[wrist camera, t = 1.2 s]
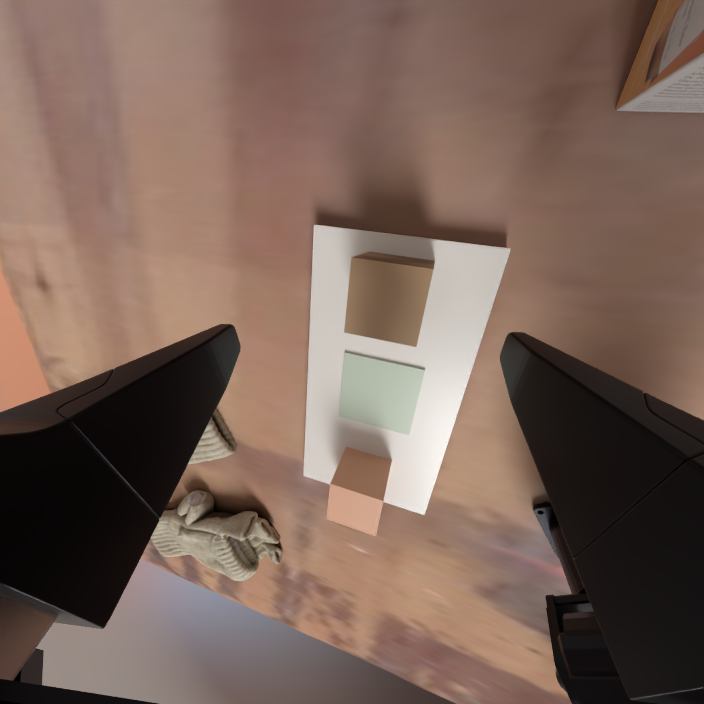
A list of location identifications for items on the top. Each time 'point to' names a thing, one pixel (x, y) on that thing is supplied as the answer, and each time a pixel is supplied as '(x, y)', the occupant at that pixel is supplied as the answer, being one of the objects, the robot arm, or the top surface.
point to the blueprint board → (394, 360)
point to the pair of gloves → (216, 521)
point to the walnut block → (387, 297)
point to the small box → (669, 61)
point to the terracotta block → (358, 490)
